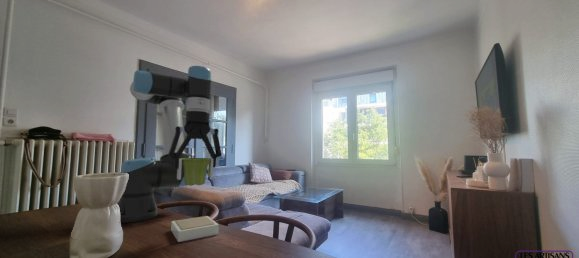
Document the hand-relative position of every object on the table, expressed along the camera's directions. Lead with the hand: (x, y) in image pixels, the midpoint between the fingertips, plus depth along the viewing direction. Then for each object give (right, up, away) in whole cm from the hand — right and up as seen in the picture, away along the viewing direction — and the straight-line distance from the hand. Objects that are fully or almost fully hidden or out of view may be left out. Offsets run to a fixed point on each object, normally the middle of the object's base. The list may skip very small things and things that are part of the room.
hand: (195, 178), depth 79 cm
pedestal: (0, -18, -1) cm, 18 cm away
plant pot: (0, -2, 0) cm, 2 cm away
